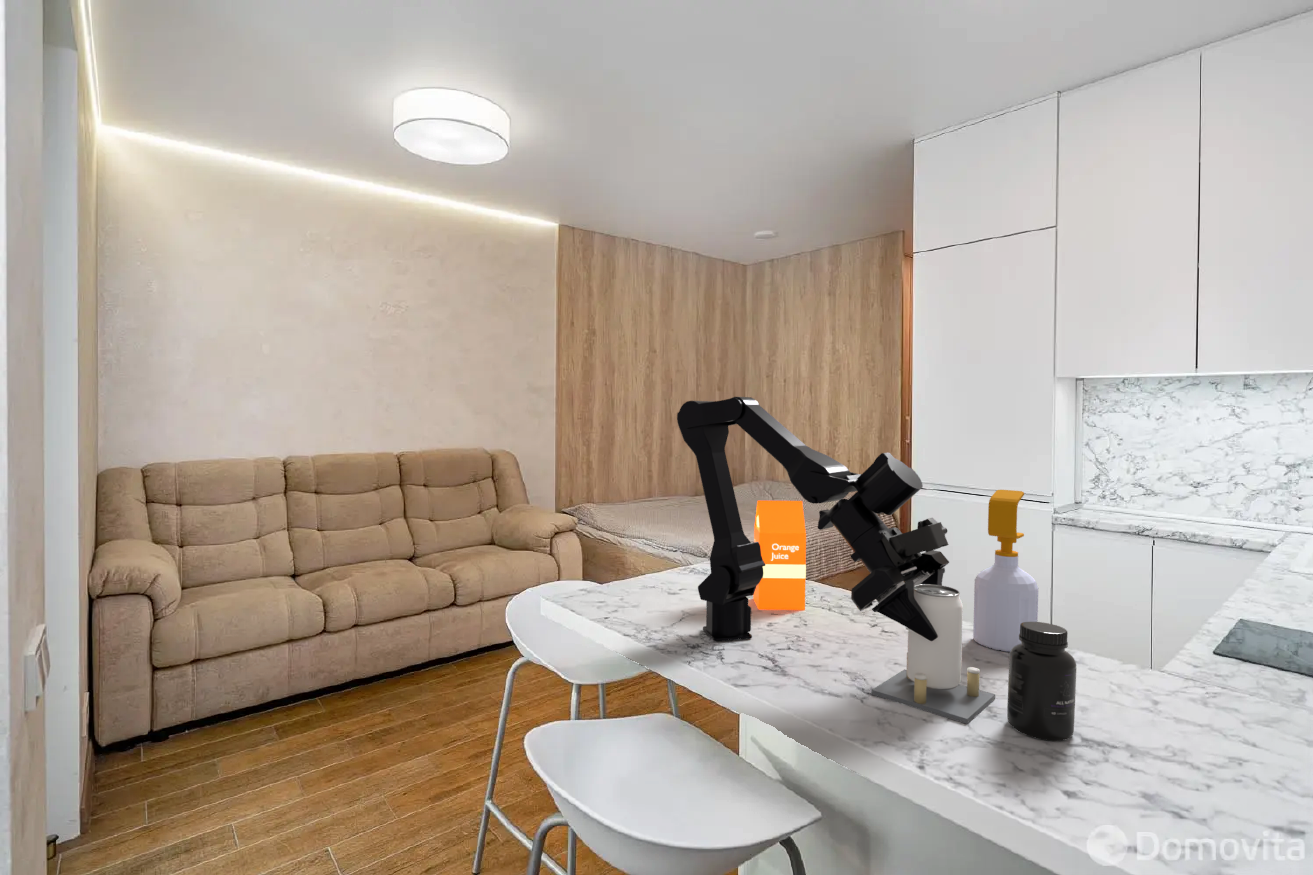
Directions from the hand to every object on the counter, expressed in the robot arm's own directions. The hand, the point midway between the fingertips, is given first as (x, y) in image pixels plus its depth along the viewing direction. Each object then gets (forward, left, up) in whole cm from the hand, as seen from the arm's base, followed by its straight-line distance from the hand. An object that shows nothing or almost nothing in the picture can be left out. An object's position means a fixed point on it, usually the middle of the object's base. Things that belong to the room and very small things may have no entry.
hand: (945, 633), depth 87 cm
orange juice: (-3, +45, -9) cm, 46 cm away
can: (-1, +1, -7) cm, 7 cm away
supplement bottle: (+5, -10, -9) cm, 14 cm away
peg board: (-1, +1, -8) cm, 9 cm away
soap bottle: (+23, +16, -9) cm, 30 cm away
